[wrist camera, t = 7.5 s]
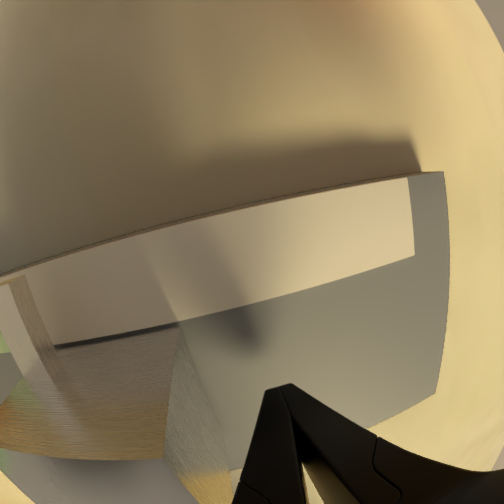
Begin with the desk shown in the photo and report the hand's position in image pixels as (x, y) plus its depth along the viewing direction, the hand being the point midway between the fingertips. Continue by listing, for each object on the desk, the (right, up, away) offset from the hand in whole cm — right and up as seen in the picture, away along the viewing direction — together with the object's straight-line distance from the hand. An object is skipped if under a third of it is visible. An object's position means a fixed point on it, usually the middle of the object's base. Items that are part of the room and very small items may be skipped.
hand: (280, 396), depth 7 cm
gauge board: (-8, -1, +2) cm, 8 cm away
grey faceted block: (-5, 0, 0) cm, 5 cm away
